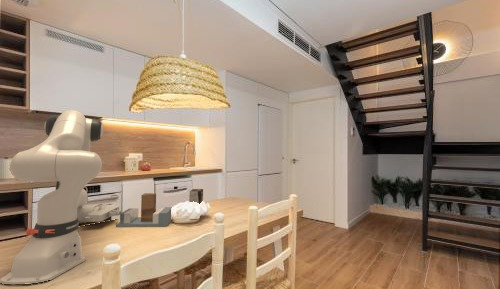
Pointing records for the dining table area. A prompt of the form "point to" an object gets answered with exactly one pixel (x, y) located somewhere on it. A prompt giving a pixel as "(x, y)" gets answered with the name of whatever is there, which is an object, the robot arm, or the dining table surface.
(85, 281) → the dining table surface
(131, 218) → the vise jaw
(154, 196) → the walnut block
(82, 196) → the robot arm
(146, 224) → the vise base
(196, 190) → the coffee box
